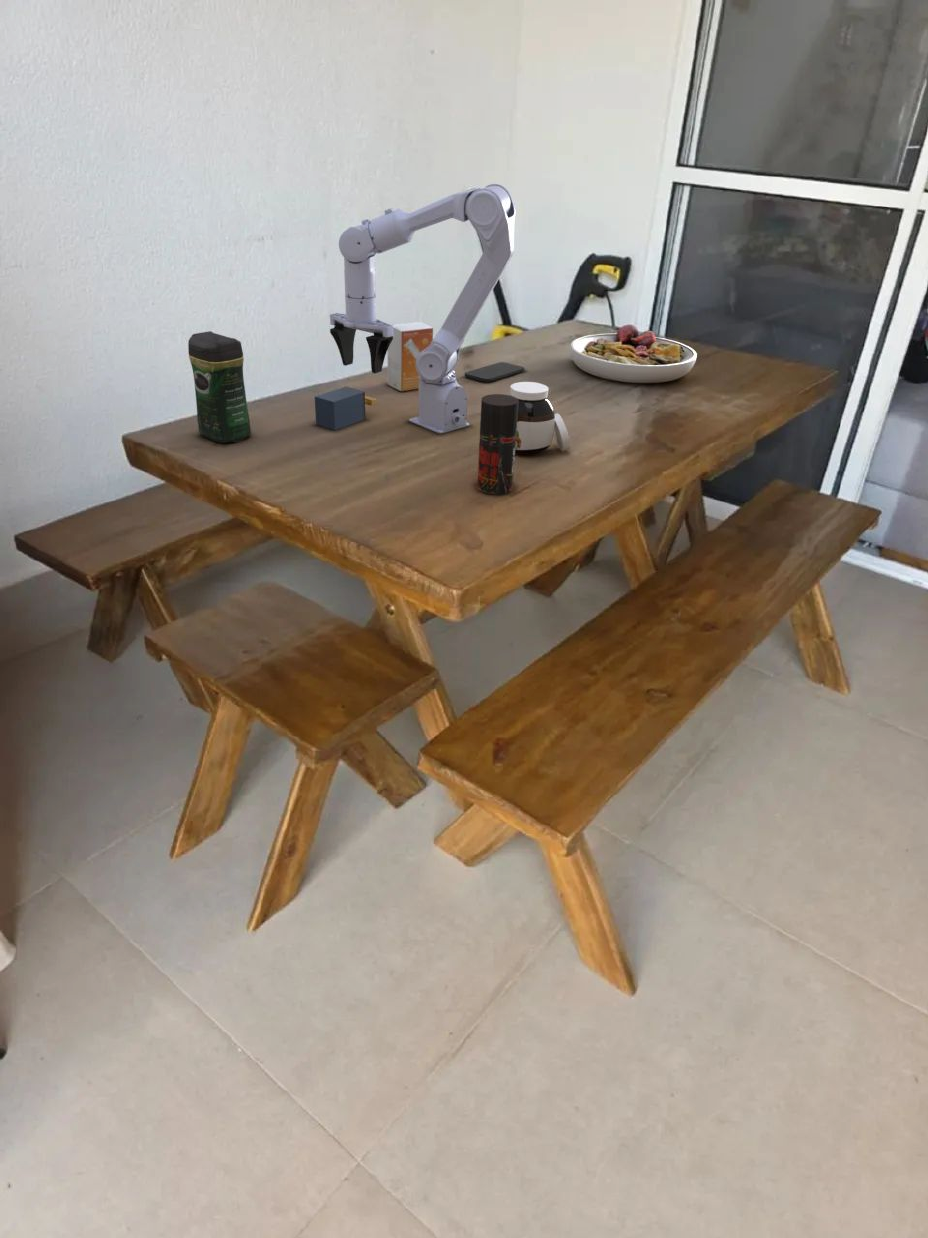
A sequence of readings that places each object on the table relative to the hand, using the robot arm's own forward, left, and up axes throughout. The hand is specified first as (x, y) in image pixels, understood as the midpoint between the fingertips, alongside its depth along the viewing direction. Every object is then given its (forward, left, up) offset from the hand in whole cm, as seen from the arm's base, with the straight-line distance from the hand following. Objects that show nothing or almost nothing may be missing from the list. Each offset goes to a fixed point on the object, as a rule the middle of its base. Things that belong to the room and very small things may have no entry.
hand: (362, 368), depth 167 cm
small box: (+9, -20, -10) cm, 24 cm away
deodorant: (-43, +6, -10) cm, 44 cm away
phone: (+4, -42, -9) cm, 43 cm away
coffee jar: (+6, +28, -10) cm, 30 cm away
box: (-1, +5, -9) cm, 11 cm away
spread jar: (-35, -13, -10) cm, 39 cm away
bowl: (-13, -72, -10) cm, 74 cm away
